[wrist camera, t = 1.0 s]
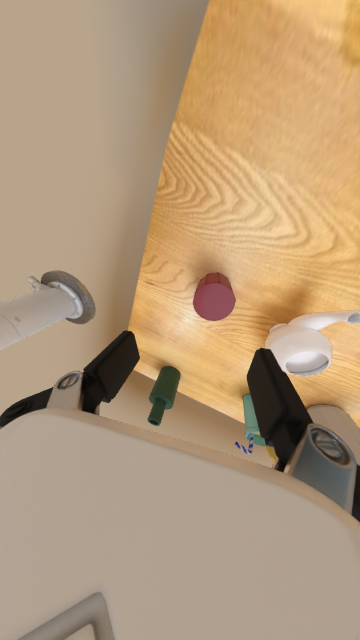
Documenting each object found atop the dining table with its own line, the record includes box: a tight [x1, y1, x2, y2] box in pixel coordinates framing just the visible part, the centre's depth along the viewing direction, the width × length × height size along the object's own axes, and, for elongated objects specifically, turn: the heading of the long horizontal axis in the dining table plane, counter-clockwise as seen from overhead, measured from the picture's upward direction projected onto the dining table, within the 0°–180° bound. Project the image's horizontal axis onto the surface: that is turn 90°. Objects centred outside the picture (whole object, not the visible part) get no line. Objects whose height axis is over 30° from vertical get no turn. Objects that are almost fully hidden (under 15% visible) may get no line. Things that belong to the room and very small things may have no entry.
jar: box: [307, 405, 360, 465], centre depth 30 cm, size 10×10×18 cm
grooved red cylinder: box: [193, 273, 236, 321], centre depth 24 cm, size 7×7×8 cm
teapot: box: [265, 310, 360, 376], centre depth 25 cm, size 10×20×9 cm, turn 169°
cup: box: [235, 394, 277, 462], centre depth 36 cm, size 14×8×15 cm, turn 68°
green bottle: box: [148, 366, 180, 426], centre depth 39 cm, size 7×7×15 cm
